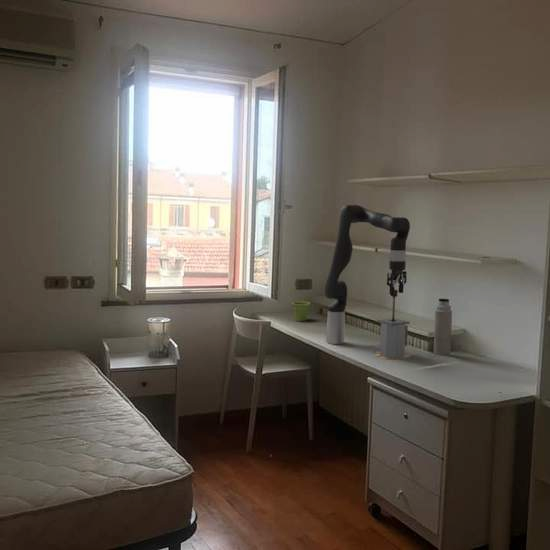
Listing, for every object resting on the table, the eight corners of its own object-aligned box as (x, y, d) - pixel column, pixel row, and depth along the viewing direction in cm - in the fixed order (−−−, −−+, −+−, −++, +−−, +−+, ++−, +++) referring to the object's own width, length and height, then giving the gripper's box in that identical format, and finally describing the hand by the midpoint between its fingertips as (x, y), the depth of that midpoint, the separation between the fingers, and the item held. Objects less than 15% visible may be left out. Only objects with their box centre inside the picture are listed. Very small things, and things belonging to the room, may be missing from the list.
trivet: (365, 355, 303) (365, 353, 303) (394, 351, 312) (394, 349, 312) (390, 363, 288) (390, 361, 288) (419, 359, 297) (419, 357, 296)
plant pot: (292, 318, 404) (292, 301, 403) (310, 319, 402) (310, 301, 401) (290, 321, 392) (290, 304, 391) (309, 322, 391) (309, 304, 389)
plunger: (380, 329, 300) (381, 289, 298) (393, 327, 304) (395, 288, 302) (392, 332, 293) (393, 291, 291) (405, 330, 297) (406, 290, 295)
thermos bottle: (449, 353, 309) (451, 298, 306) (450, 357, 301) (453, 300, 298) (433, 352, 310) (435, 297, 307) (434, 356, 302) (436, 299, 299)
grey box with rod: (375, 354, 302) (376, 319, 300) (398, 351, 309) (399, 317, 307) (390, 359, 292) (392, 323, 290) (413, 355, 299) (415, 321, 297)
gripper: (398, 258, 299) (396, 291, 301) (382, 260, 289) (381, 294, 291) (412, 259, 295) (410, 293, 296) (397, 261, 284) (395, 296, 286)
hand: (396, 293), depth 294 cm, fingers open, 8 cm apart
